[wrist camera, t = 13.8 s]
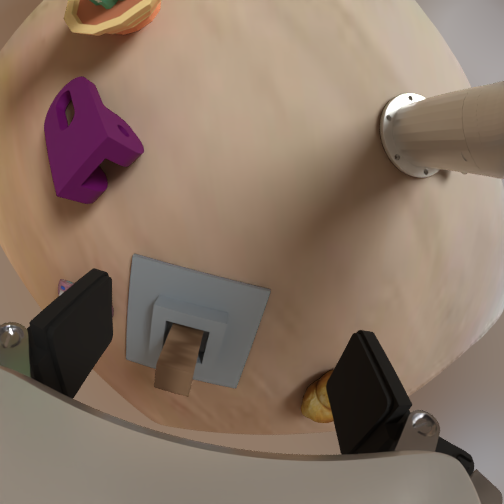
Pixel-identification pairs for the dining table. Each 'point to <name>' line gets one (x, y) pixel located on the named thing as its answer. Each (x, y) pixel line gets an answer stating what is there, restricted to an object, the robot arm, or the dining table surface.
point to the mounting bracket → (85, 142)
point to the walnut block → (178, 359)
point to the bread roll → (317, 401)
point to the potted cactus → (109, 15)
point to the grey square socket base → (193, 317)
